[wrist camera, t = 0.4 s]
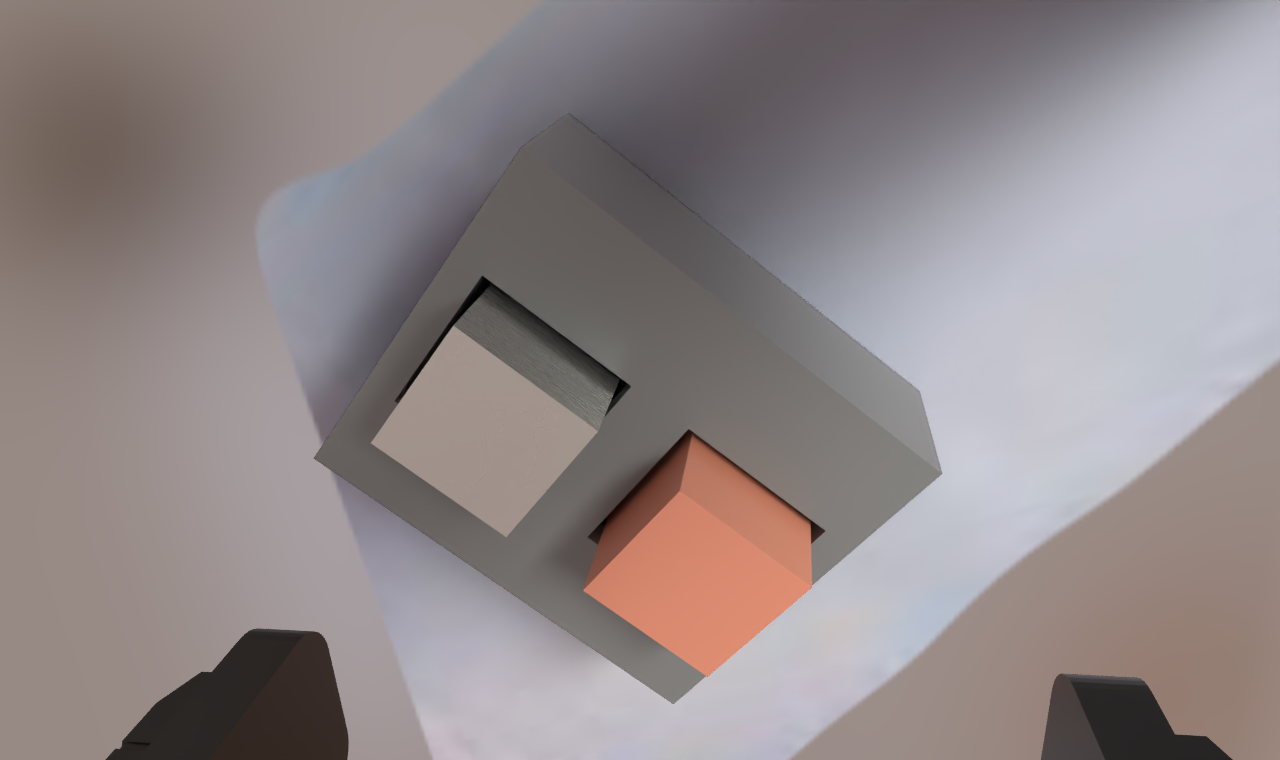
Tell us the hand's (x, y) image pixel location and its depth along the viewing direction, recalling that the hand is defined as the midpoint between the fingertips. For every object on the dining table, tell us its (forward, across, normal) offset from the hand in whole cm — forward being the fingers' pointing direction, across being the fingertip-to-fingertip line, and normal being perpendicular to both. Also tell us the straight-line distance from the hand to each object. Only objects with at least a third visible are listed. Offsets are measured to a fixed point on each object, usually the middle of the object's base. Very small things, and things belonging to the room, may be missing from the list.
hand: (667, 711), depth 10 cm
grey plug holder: (+20, +4, +4) cm, 20 cm away
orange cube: (+17, +1, +7) cm, 18 cm away
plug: (+17, +6, +2) cm, 18 cm away
